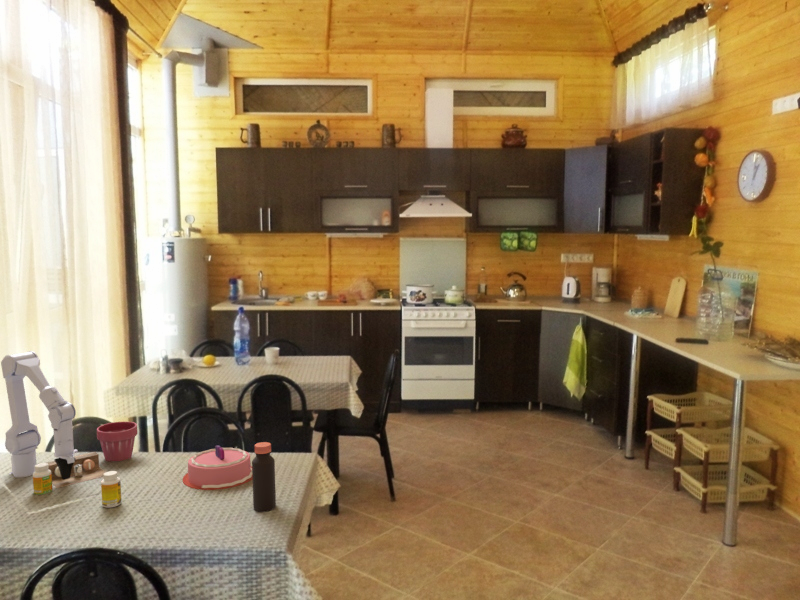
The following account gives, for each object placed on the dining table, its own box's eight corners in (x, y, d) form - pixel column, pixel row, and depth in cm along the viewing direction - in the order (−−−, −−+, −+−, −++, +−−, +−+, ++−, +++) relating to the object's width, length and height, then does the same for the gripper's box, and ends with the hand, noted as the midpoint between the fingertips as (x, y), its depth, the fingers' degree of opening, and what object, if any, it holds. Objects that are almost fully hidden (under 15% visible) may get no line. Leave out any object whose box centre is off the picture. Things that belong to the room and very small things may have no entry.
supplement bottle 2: (122, 506, 197) (120, 474, 196) (102, 509, 195) (100, 477, 194) (121, 499, 202) (119, 468, 201) (102, 503, 200) (100, 471, 199)
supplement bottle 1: (44, 497, 205) (42, 468, 204) (29, 496, 206) (27, 467, 205) (56, 491, 210) (54, 462, 209) (42, 489, 211) (40, 461, 210)
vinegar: (256, 514, 190) (254, 449, 189) (251, 505, 196) (248, 443, 195) (278, 509, 194) (276, 445, 192) (272, 501, 200) (270, 439, 198)
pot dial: (73, 476, 220) (72, 465, 220) (81, 474, 222) (80, 463, 222) (75, 478, 219) (74, 466, 218) (83, 476, 220) (83, 465, 220)
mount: (43, 477, 222) (42, 462, 221) (94, 465, 234) (93, 451, 233) (57, 490, 210) (55, 474, 210) (110, 477, 222) (109, 461, 221)
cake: (267, 479, 219) (266, 449, 218) (195, 496, 205) (193, 464, 204) (241, 459, 239) (240, 432, 238) (173, 474, 225) (172, 444, 224)
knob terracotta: (76, 465, 230) (76, 456, 230) (87, 463, 233) (86, 453, 232) (84, 471, 224) (83, 462, 224) (95, 469, 226) (94, 459, 226)
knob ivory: (49, 472, 224) (48, 462, 224) (60, 469, 226) (60, 459, 226) (56, 478, 218) (56, 468, 217) (68, 475, 220) (67, 465, 220)
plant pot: (138, 462, 237) (137, 429, 235) (97, 468, 231) (95, 433, 230) (138, 451, 250) (137, 419, 249) (99, 456, 244) (97, 423, 243)
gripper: (83, 441, 212) (85, 481, 213) (69, 432, 223) (72, 470, 224) (60, 446, 207) (62, 486, 208) (47, 437, 218) (50, 475, 219)
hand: (66, 478), depth 216 cm, fingers closed
